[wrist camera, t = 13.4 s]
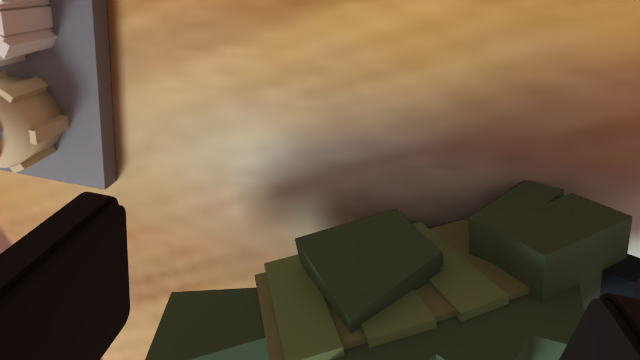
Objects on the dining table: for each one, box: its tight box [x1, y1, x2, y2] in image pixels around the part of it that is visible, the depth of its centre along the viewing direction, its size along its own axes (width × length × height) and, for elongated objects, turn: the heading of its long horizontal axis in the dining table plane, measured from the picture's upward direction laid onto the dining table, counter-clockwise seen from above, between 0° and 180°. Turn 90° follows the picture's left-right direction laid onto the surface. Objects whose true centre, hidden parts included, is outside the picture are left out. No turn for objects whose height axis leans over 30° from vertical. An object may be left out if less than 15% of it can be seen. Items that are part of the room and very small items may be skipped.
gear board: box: [0, 0, 117, 190], centre depth 34 cm, size 22×13×8 cm, turn 172°
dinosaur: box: [145, 180, 640, 360], centre depth 33 cm, size 35×12×19 cm, turn 99°
